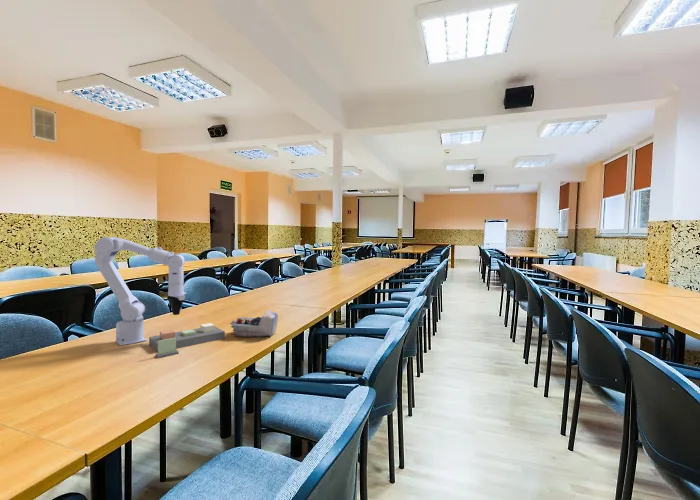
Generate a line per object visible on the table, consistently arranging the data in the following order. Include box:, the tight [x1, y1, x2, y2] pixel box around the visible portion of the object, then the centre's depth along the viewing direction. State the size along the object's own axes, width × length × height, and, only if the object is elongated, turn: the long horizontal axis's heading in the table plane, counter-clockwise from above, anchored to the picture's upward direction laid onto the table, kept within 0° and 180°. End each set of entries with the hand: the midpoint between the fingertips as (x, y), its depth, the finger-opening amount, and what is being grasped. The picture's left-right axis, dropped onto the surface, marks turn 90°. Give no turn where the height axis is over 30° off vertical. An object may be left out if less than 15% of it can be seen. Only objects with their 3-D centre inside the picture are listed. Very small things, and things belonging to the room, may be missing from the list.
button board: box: [148, 326, 226, 352], centre depth 142 cm, size 26×12×3 cm, turn 135°
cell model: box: [229, 309, 279, 338], centre depth 154 cm, size 13×11×20 cm
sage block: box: [181, 328, 196, 337], centre depth 142 cm, size 4×4×4 cm
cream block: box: [199, 322, 216, 333], centre depth 148 cm, size 4×4×4 cm
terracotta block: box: [159, 329, 176, 340], centre depth 136 cm, size 4×4×4 cm
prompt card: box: [155, 338, 179, 359], centre depth 126 cm, size 7×3×6 cm, turn 135°
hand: (176, 314), depth 145 cm, fingers closed
